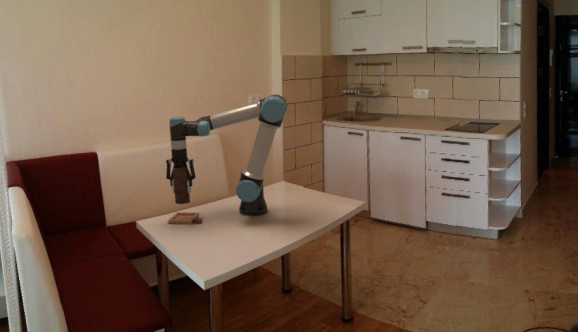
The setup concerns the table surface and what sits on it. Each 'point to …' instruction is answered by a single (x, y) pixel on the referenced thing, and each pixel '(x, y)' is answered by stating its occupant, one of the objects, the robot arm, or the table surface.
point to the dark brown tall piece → (181, 185)
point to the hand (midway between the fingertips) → (182, 192)
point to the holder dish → (183, 218)
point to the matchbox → (197, 220)
